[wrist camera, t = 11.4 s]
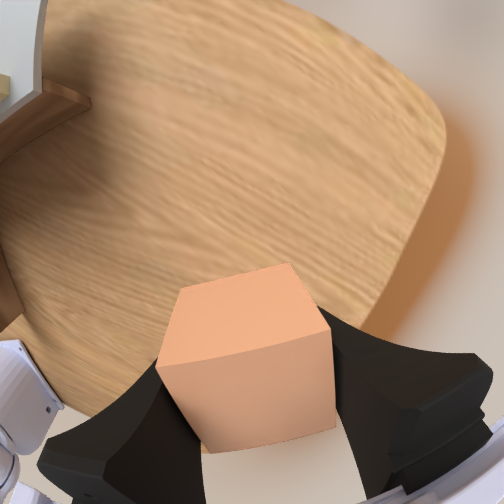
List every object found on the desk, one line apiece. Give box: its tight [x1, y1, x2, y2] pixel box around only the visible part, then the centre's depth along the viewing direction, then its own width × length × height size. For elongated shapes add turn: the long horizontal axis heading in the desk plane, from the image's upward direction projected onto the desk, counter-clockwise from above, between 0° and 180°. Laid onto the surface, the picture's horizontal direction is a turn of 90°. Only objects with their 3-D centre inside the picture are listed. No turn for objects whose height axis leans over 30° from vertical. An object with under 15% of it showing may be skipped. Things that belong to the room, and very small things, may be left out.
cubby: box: [0, 77, 91, 333], centre depth 13 cm, size 14×14×6 cm
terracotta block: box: [155, 263, 336, 454], centre depth 9 cm, size 4×4×5 cm
